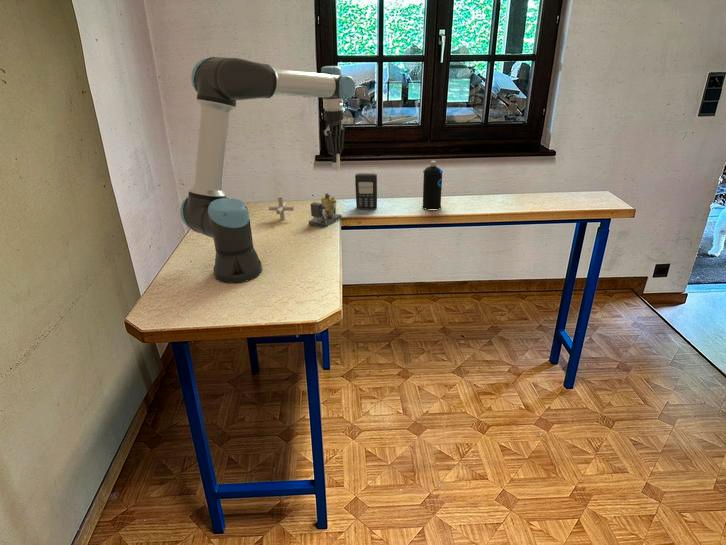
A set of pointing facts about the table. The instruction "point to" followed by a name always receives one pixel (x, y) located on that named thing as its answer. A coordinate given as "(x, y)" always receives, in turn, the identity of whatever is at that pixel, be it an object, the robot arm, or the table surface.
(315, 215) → the bolt plate
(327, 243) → the table surface
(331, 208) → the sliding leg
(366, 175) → the card reader
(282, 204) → the pipe connector
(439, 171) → the aerosol can
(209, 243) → the table surface
